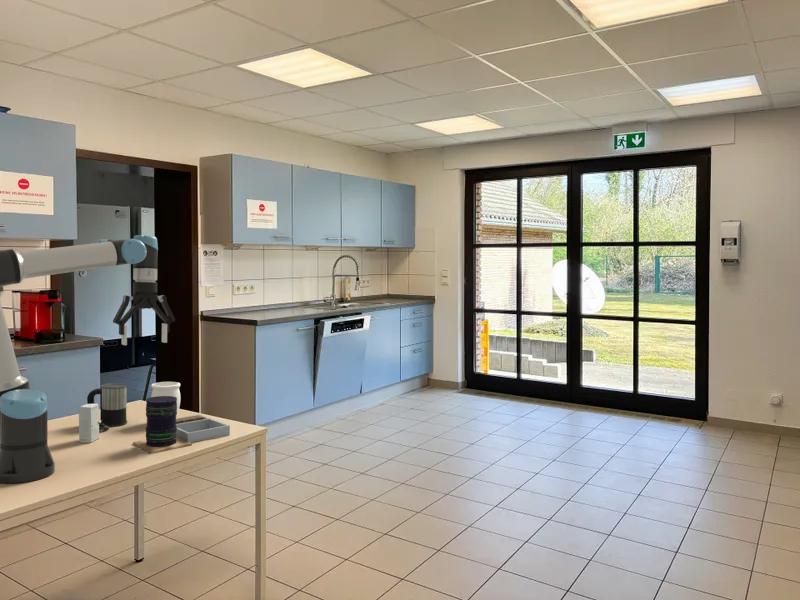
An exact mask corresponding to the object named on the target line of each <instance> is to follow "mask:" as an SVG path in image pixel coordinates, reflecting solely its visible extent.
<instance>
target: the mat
mask: <svg viewBox="0 0 800 600" xmlns="http://www.w3.org/2000/svg"><path fill="white" fill-rule="evenodd" d="M176 440H177V442H176V444H174V445H171V446H166V447H150V446H147V445H146V442H147V440H146V439H143V440H139V441H133V442H132V445H134V446H136V447H138V448H140V449H141V450H144V451H146V452H148V453H150V454H154V453H159V452H165V451H169V450H175V449H179V448H185V447H189V446H193V442H191V443H190V442H188V441H186V440H183V439H181V438H179V437H177V438H176Z"/></svg>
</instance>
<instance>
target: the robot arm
mask: <svg viewBox="0 0 800 600" xmlns="http://www.w3.org/2000/svg"><path fill="white" fill-rule="evenodd" d="M158 245H159V244H158V238H157V237H156V236H154V235H140V234H139V235H138V234H135V235H134V236H133V238H129V239H128V238H127V239H109V238H106V239H103V238H102V239H98V240H96V242H93V243H84V244H78V245H77V244H76V245H70V246H69V245H68V246H61V247H52V248H42V249H35V250H25V251H17V250H15V249H14V248H11V249H0V298H1V297H2V295H3V294H4V292H5V290H4V287H6V286H10V285H18V284H21V283H22V282H23V280H24V279H32V278H39V277H45V276H51V275H53V276H54V275H58V274H65V273H66V274H67V273H72V272H73V273H74V272H81V271H84V270H85V271H86V270H92V269H99V268H107V267H114V266H121V265H128V264H129V265H130V264H131V265H133V270H132V271H133V275H132V276H133V277H132V279H133V280H134V281H133V284H132V285H133V287H132V292H133V294H132V295H131V296H130V295H123V296H122V297H123V298H122V303H121V305H120V306H119V308H118V310H117V312H116V314H115V316H114V317H113V320H112V323H113V324H116V325H117V326H118V334H119V335H120V336H121V345H123V346H127V345H128V325H127V324H126V323H127V322H128V321H129V320H130V319H131V317H132V316H133V315H134V314H135V313H136V312H137V311H138V310H139V309H141V310H144V309H148V310H149V309H151V310H153V311H154V312H155V313H156V315H157V316H158V317H159V319H161V320H162V322H163V323H162V322H161V342H162V343H164V344H165V343H166V344H167V343H168V333H170V329H171V327H170V326H171V325H170V324H172V323H174V322H175V321H176V318H175V315H174V313H173V311H172V310H171V308H170V306H169V303H168V301H167V298H168V297H167V295H164V294H161V295H158V282H156V281H158V251H159V247H158ZM132 301H133V304H132V305H131V306H130V308H129V309H128V311H127V308H128V306H129V304H130V303H131V302H132ZM157 302H159V303H160V304H161V306H162V309H163V310H164V312H165V313H164V312H163V311H162V310H161V308H160V307H159V306H158V304H157ZM126 311H127V312H126ZM125 312H126V313H125ZM48 402H49V401H48V397H47V394H46V393H45V392H44V391H41V390H39V389H38V390H37V389H35V390H34V389H31V386H30V382H29V379H28V378H26V377H24V376H22V375H21V371H20V368H19V364H18V360H17V357H16V353H15V351H14V346H13V342H12V339H11V335H10V332H9V328H8V324H7V320H6V317H5V312H4V309H3V306H2V302H1V300H0V483H2V484H20V483H27V482H28V483H29V482H34V481H37V480H41V479H44V478H46V477H49V476H51V475H52V474H54V472H55V468H56V467H55V466H56V465H55V464H56V463H55V461H54V458H53V456H52V454H51V450H50V448H49V445H48V438H49V437H48V428H49V427H48V408H49V403H48Z"/></svg>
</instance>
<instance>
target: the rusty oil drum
mask: <svg viewBox="0 0 800 600" xmlns="http://www.w3.org/2000/svg"><path fill="white" fill-rule="evenodd" d="M176 401H177V398H176V397H172V396H157V397H151V396H150V397H147V398H146V399H145V402H146V404H145V406H146V407H145V417H146V428H145V440H147V442H146V445H147V446H150V447H166V446H171V445H174V444H176V442H177V440H176V438H177V436H176V435H177V426H176V418H177V417H176V415H177V402H176ZM177 416H178V415H177Z"/></svg>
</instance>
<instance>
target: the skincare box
mask: <svg viewBox="0 0 800 600" xmlns="http://www.w3.org/2000/svg"><path fill="white" fill-rule="evenodd" d="M99 408H100V406H99V403H94V404H87V403H86V404H82V405H81V406H79V407H78V434H79V435H78V439H79V440H78V441H79V443H83V444H85V443H86V444H88V443H89V444H91V443H93V442H96V441H97V440H99V439H100V430H99V422H100V416H99V415H100V413H99V411H100V409H99ZM98 438H99V439H98Z"/></svg>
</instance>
